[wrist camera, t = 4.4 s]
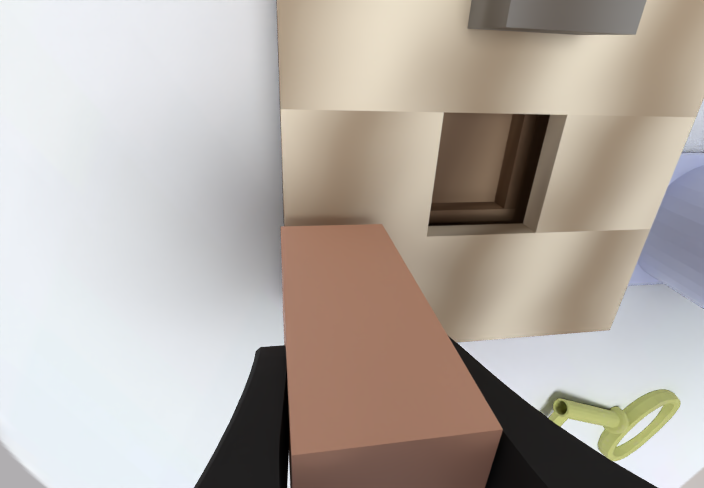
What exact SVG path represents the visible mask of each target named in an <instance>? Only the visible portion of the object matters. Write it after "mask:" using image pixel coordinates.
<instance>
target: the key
mask: <svg viewBox="0 0 704 488" xmlns="http://www.w3.org/2000/svg"><path fill="white" fill-rule="evenodd" d="M661 406H663V407H662V409H661V411H660V412H659V414H658V415H657V416H656V418H655V419H654V420H653V421H652V422H651V423H650V424H649V425H648V426H647V427H646V428H645V429H644V430H643V431H642V432H641V433H639V434H638V435H637V436H635V437H634V438H633V439H631V440H629V441H628V442H626V443H624V444H622V445H620V446H618V447H616V446H617V444H618V443H619V442H620V440H621V439H622V438H623V437H624V436H625V435H626V434H627V433H628V432H629V431H630V430H631V429H632V428H633V427H634V426H635V425H636V424H637V423H638V422H639V421H640V420H642V419H643V418H644V417H645V416H647V415H648V414H649V413H651V412H652V411H654V410H655V409H657V408H659V407H661ZM679 407H680V400H679V399H678V398H677V396H676V395H675V394H674V393H672V392H670V391H668V390H656V391H652V392H649V393H647V394H645V395H644V396H642V397H640V398H638V399H637V400H635V401H634V402H632V403H631V404H630V405H628V406H627V407H626V408H625V409H624V410H621V409H620V408H619V407H612V408H611V409H609V410H606V409H602V408H598V407H594V406H590V405H586V404H582V403H578V402H574V401H569V400H565V399H561V398H560V399H557V400H555V401H554V403H553V410H554V412H553V413H552V414H551V415H550V417H549V419H550V420H551V421H553V422H554V423H555V424H557V425H558V426H561V425H562V424H563V423H564V422H565V421H566V420H567V419H568V418H569V419H573V420H578V421H583V422H588V423H592V424H597V425H602V426H603V427H604V428H605V430H604V431H603V433H602V434H601V436H600V439H599V442H598V447H599V450H600V451H601V453H602V454H603V455H604V456H606V457H607V458H608V459H610V460H611V461H618V460H621V459H623V458H625V457H627V456H628V455H630V454H631V453H633V452H634V451H636V450H637V449H638V448H639V447H641V446H642V445H643V444H644V443H645V442H647V441H648V440H649V439H650V438H651V437H652V436H653V435H654V434H656V433H657V432H658V431H659V430H660V429H661V428H662V427H663V426H664V425H665V424H666V423H667V422H668V421H669V420H670V419H671V418H672V416H673V415H674V414H675V413H676V411H677V410H678V408H679Z"/></svg>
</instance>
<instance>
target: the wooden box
mask: <svg viewBox="0 0 704 488" xmlns="http://www.w3.org/2000/svg"><path fill="white" fill-rule="evenodd" d="M276 3H277V0H276ZM277 33H278V16H277ZM278 63H279V47H278ZM279 93H280V77H279ZM549 118H550V114H501V113H449V112H444V115H443V122H442V130H441V137H440V144H439V151H438V158H437V166H436V173H435V180H434V187H433V195H432V202H431V209H430V216H429V223H428V226H452V225H486V224H520V223H523V221H524V217H525V213H526V209H527V205H528V201H529V197H530V193H531V189H532V185H533V181H534V178H535V174H536V170H537V166H538V162H539V158H540V154H541V150H542V146H543V142H544V138H545V134H546V130H547V126H548V122H549ZM280 122H281V107H280ZM281 152H282V137H281ZM282 182H283V167H282ZM283 212H284V198H283Z"/></svg>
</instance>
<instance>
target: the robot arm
mask: <svg viewBox="0 0 704 488" xmlns="http://www.w3.org/2000/svg"><path fill="white" fill-rule="evenodd" d="M648 284H665V285H667V286H668V287H670V288H672V289H673V290H675V291H676V292H678V293H679V294H681V295H683V296H684V297H686V298H687V299H689V300H690V301H692V302H694V303H695V304H697V305H698V306H700V307H701V308H703V309H704V153H681V155H680V158H679V160H678V163H677V165H676V168H675V170H674V173H673V175H672V178H671V180H670V183H669V185H668V187H667V190H666V192H665V195H664V197H663V200H662V202H661V205H660V207H659V210H658V212H657V215H656V217H655V219H654V222H653V224H652V227H651V229H650V232H649V234H648V237H647V239H646V242H645V244H644V247H643V249H642V252H641V254H640V256H639V259H638V261H637V264H636V266H635V269H634V271H633V274H632V276H631V279H630V281H629V284H628V286H631V285H648ZM448 337H449V336H448ZM449 339H450V340H451V342H452V344H453V345H454V347H455V349H456V350H457V352H458V354H459V356H460V357H461V359H462V361H463V362H464V364H465V366H466V367H467V369H468V371H469V373H470V374H471V376H472V378H473V379H474V381H475V383H476V384H477V386H478V388H479V390H480V391H481V393H482V395H483V396H484V398H485V400H486V401H487V403H488V405H489V407H490V408H491V410H492V412H493V413H494V415H495V417H496V418H497V420H498V422H499V424H500V425H501V427H502V429H503V431H502V434H501V437H500V441H499V444H498V447H497V450H496V453H495V457H494V460H493V463H492V466H491V470H490V473H489V476H488V479H487V482H486V486H485V488H657V487H656V486H654V485H652V484H650V483H649V482H647V481H645V480H644V479H642V478H640V477H638V476H637V475H635V474H633V473H632V472H630V471H628V470H626V469H625V468H623V467H621V466H620V465H618V464H616V463H615V462H613V461H611V460H610V459H608V458H606V457H605V456H603V455H602V454H600V453H598V452H597V451H595V450H594V449H592V448H591V447H589V446H588V445H586V444H585V443H583V442H582V441H580V440H579V439H577V438H576V437H574V436H573V435H571V434H570V433H568V432H567V431H565V430H564V429H563V428H561V427H560V426H558V425H557V424H555V423H554V422H553V421H551V420H550V419H549V418H547V417H546V416H545V415H543V414H542V413H541V412H539V411H538V410H537V409H535V408H534V407H533V406H531V405H530V404H529V403H527V402H526V401H525V400H524V399H522V398H521V397H520V396H519V395H517V394H516V393H515V392H514V391H512V390H511V389H510V388H509V387H507V386H506V385H505V384H504V383H503V382H501V381H500V380H499V379H498V378H497V377H495V376H494V375H493V374H492V373H491V372H490V371H488V370H487V369H486V368H485V367H484V366H483V365H481V364H480V363H479V362H478V361H477V360H476V359H475V358H473V357H472V356H471V355H470V354H469V353H468V352H467V351H465V350H464V349H463V348H462V347H461V346H460V345H459V344H457V343H456V342H455V341H454V340H453V339H452V338H451V337H449ZM288 458H289V431H288V393H287V361H286V345H284V346H270V347H260V348H259V349H258V350H257V351H256V353H255V358H254V362H253V366H252V369H251V372H250V375H249V378H248V380H247V383H246V386H245V388H244V391H243V393H242V396H241V398H240V400H239V402H238V405H237V407H236V409H235V411H234V414H233V416H232V418H231V420H230V422H229V424H228V426H227V428H226V430H225V432H224V434H223V436H222V438H221V440H220V442H219V444H218V446H217V448H216V450H215V452H214V454H213V455H212V457H211V459H210V461H209V463H208V464H207V466H206V468H205V470H204V472H203V473H202V475H201V477H200V478H199V480H198V482H197V484H196V485H195V487H194V488H287V478H288Z"/></svg>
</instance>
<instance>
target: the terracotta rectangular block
mask: <svg viewBox="0 0 704 488" xmlns="http://www.w3.org/2000/svg"><path fill="white" fill-rule="evenodd" d="M281 258H282V291H283V321H284V345H286V361H287V393H288V431H289V464H290V488H485V486H486V482H487V479H488V476H489V473H490V470H491V466H492V463H493V460H494V457H495V453H496V450H497V447H498V444H499V441H500V437H501V434H502V431H503V429H502V427H501V425H500V424H499V422H498V420H497V418H496V417H495V415H494V413H493V412H492V410H491V408H490V407H489V405H488V403H487V401H486V400H485V398H484V396H483V395H482V393H481V391H480V390H479V388H478V386H477V384H476V383H475V381H474V379H473V378H472V376H471V374H470V373H469V371H468V369H467V367H466V366H465V364H464V362H463V361H462V359H461V357H460V356H459V354H458V352H457V350H456V349H455V347H454V345H453V344H452V342H451V340H450V339H449V337H448V335H447V333H446V332H445V330H444V328H443V327H442V325H441V323H440V322H439V320H438V318H437V316H436V315H435V313H434V311H433V310H432V308H431V306H430V305H429V303H428V301H427V299H426V298H425V296H424V294H423V293H422V291H421V289H420V288H419V286H418V284H417V282H416V281H415V279H414V277H413V276H412V274H411V272H410V271H409V269H408V267H407V265H406V264H405V262H404V260H403V259H402V257H401V255H400V254H399V252H398V250H397V248H396V247H395V245H394V243H393V242H392V240H391V238H390V237H389V235H388V233H387V231H386V230H385V228H384V226H383V225H382V224H363V225H322V226H281Z"/></svg>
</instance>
